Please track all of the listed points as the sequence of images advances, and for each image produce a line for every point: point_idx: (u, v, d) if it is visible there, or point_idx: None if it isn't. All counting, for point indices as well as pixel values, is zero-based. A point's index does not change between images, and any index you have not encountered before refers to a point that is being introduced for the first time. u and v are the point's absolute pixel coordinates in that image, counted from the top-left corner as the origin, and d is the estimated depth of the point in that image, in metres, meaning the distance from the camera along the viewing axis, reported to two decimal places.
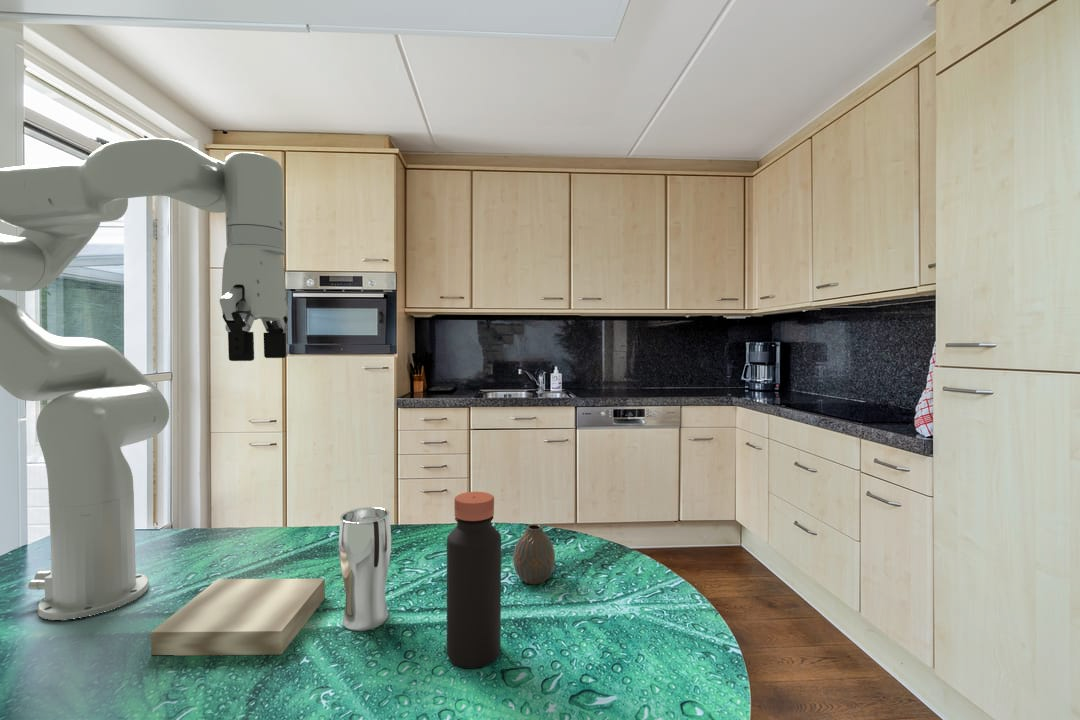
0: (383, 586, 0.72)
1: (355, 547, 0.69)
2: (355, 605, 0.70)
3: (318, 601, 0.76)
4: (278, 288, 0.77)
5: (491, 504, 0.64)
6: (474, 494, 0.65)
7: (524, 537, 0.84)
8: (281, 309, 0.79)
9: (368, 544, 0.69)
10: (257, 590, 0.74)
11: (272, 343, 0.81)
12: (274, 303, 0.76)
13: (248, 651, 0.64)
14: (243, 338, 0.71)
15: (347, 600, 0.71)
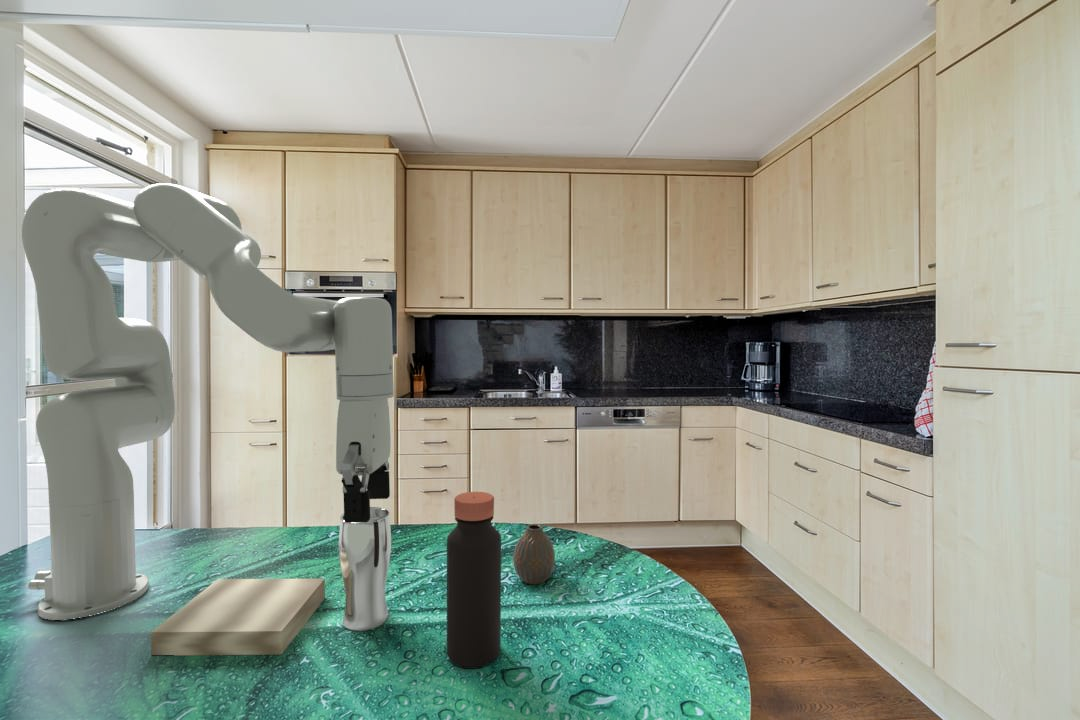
0: (383, 586, 0.72)
1: (355, 547, 0.69)
2: (355, 605, 0.70)
3: (318, 601, 0.76)
4: (386, 432, 0.73)
5: (491, 504, 0.64)
6: (474, 494, 0.66)
7: (524, 537, 0.84)
8: (387, 451, 0.74)
9: (368, 544, 0.69)
10: (257, 590, 0.74)
11: (376, 484, 0.76)
12: (384, 449, 0.72)
13: (248, 651, 0.64)
14: (360, 500, 0.66)
15: (347, 600, 0.71)
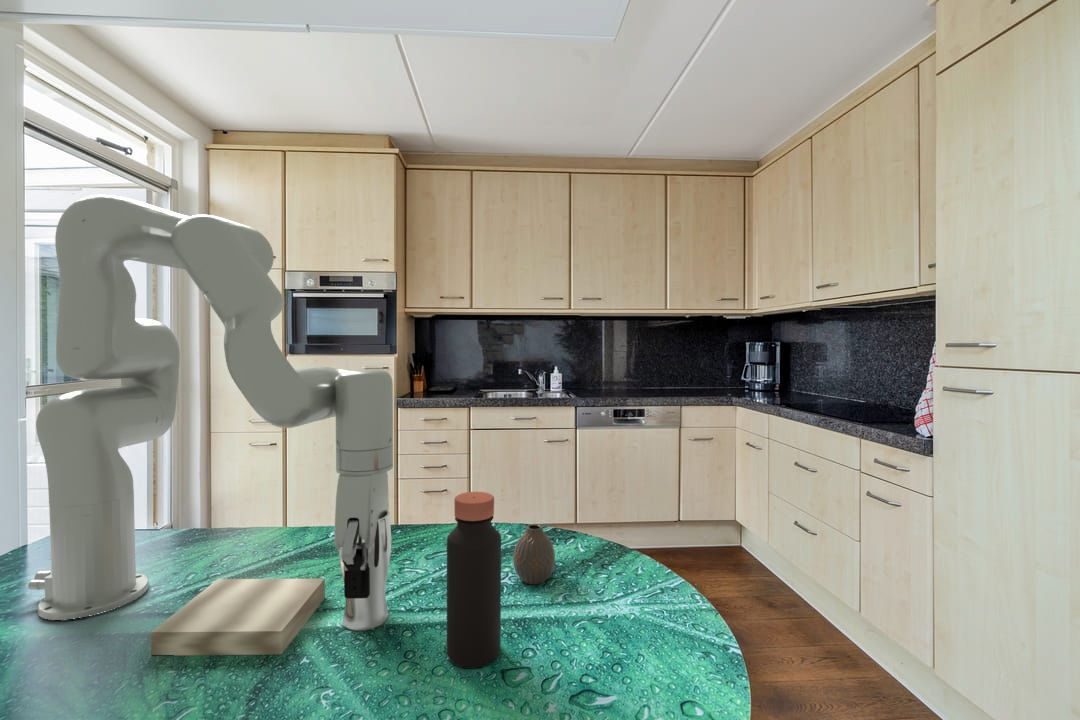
0: (383, 586, 0.72)
1: None
2: (355, 605, 0.70)
3: (318, 601, 0.76)
4: (385, 501, 0.73)
5: (491, 504, 0.64)
6: (474, 494, 0.65)
7: (524, 537, 0.84)
8: None
9: None
10: (257, 590, 0.74)
11: None
12: None
13: (248, 651, 0.64)
14: (360, 577, 0.68)
15: (347, 600, 0.71)
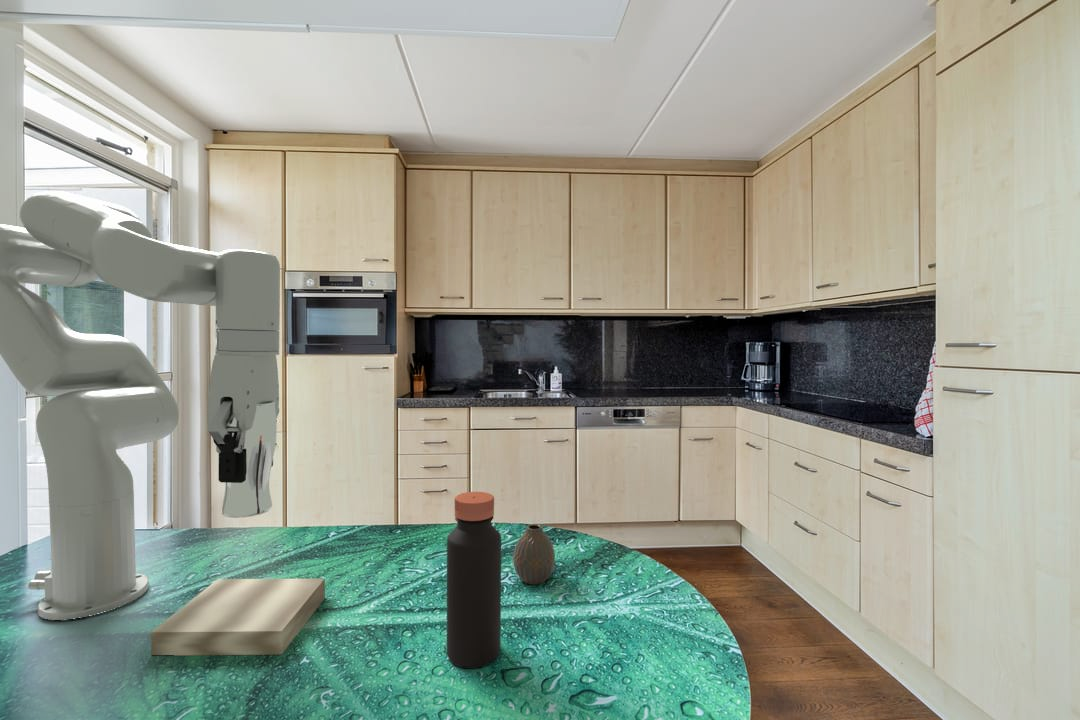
0: (265, 475, 0.70)
1: None
2: (232, 491, 0.68)
3: (318, 601, 0.76)
4: (270, 391, 0.71)
5: (491, 504, 0.64)
6: (474, 494, 0.66)
7: (524, 537, 0.84)
8: None
9: None
10: (257, 590, 0.74)
11: None
12: None
13: (248, 651, 0.64)
14: (235, 460, 0.66)
15: (225, 487, 0.69)
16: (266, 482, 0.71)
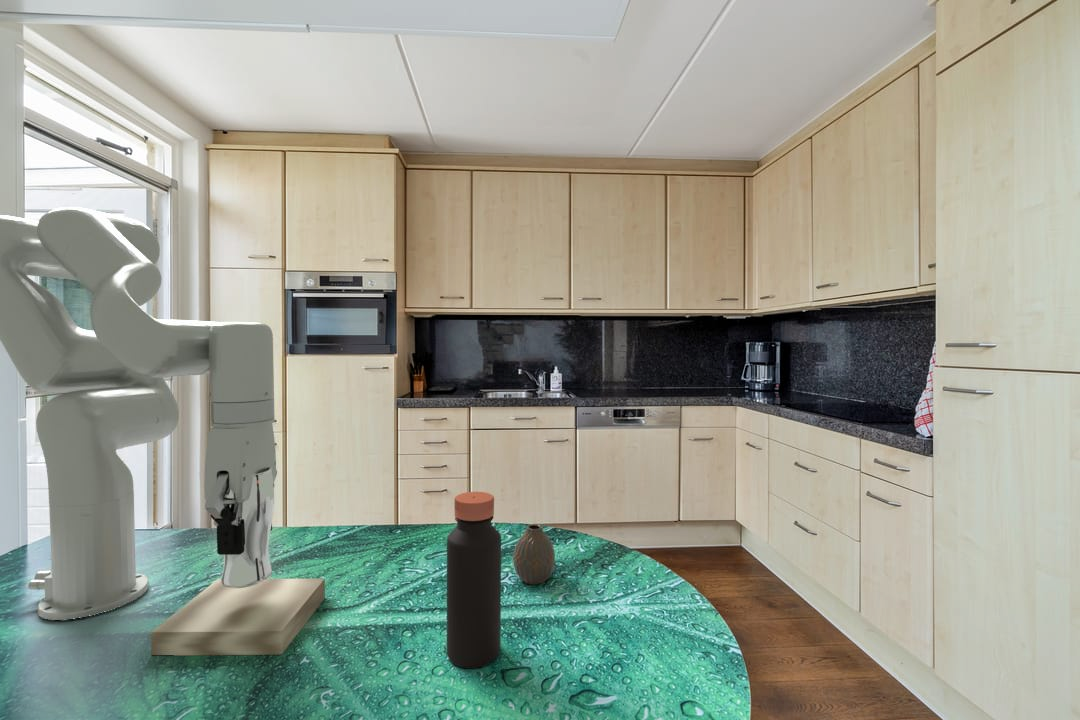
0: (263, 543, 0.70)
1: None
2: (231, 562, 0.68)
3: (318, 601, 0.76)
4: (267, 458, 0.72)
5: (491, 504, 0.64)
6: (474, 494, 0.66)
7: (524, 537, 0.84)
8: None
9: None
10: (257, 590, 0.74)
11: None
12: None
13: (248, 651, 0.64)
14: (232, 532, 0.66)
15: (224, 557, 0.69)
16: (265, 550, 0.71)
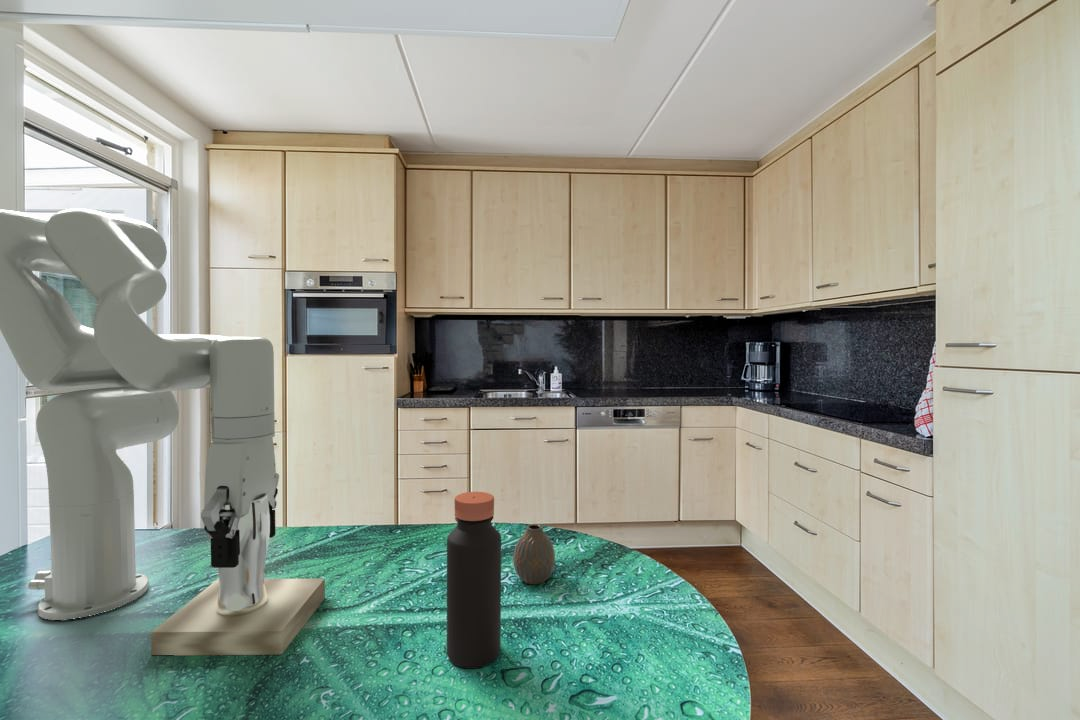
0: (259, 570, 0.70)
1: None
2: (226, 589, 0.68)
3: (318, 601, 0.76)
4: (267, 472, 0.72)
5: (491, 504, 0.64)
6: (474, 494, 0.65)
7: (524, 537, 0.84)
8: (270, 491, 0.73)
9: (238, 526, 0.67)
10: None
11: None
12: (262, 491, 0.71)
13: (248, 651, 0.64)
14: (227, 545, 0.65)
15: (220, 584, 0.69)
16: (260, 576, 0.70)
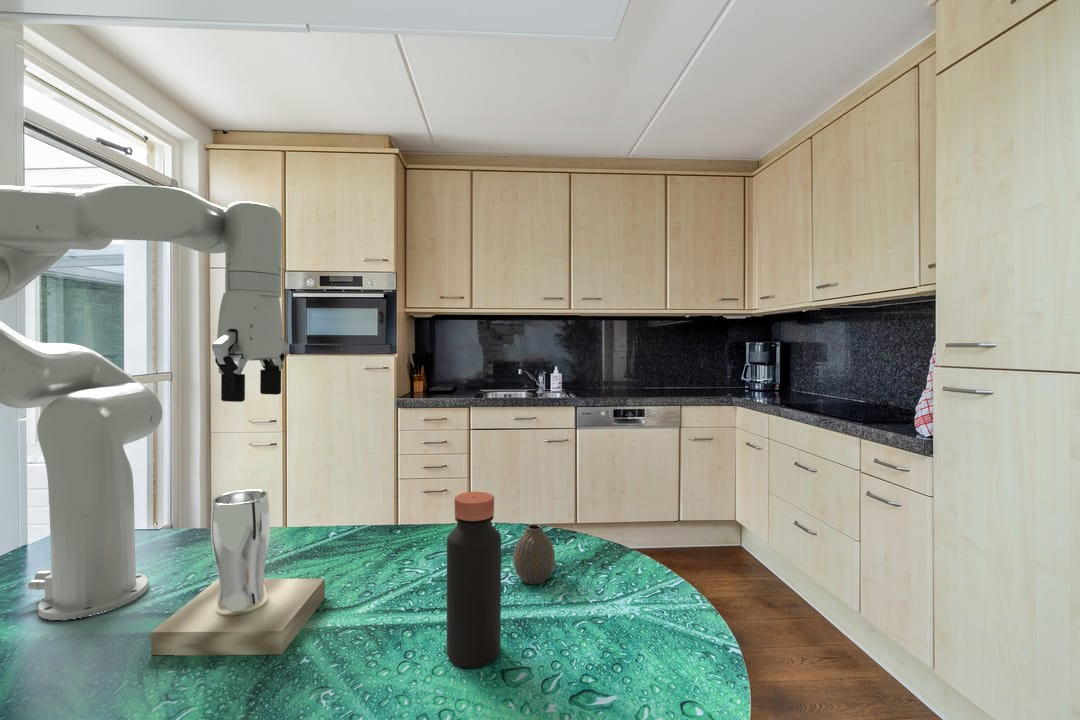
0: (259, 570, 0.70)
1: (224, 530, 0.67)
2: (226, 589, 0.68)
3: (318, 601, 0.76)
4: (273, 329, 0.80)
5: (491, 504, 0.64)
6: (474, 494, 0.65)
7: (524, 537, 0.84)
8: (276, 349, 0.82)
9: (238, 526, 0.67)
10: None
11: (268, 380, 0.84)
12: (268, 344, 0.79)
13: (248, 651, 0.64)
14: (234, 380, 0.74)
15: (220, 584, 0.69)
16: (260, 576, 0.70)
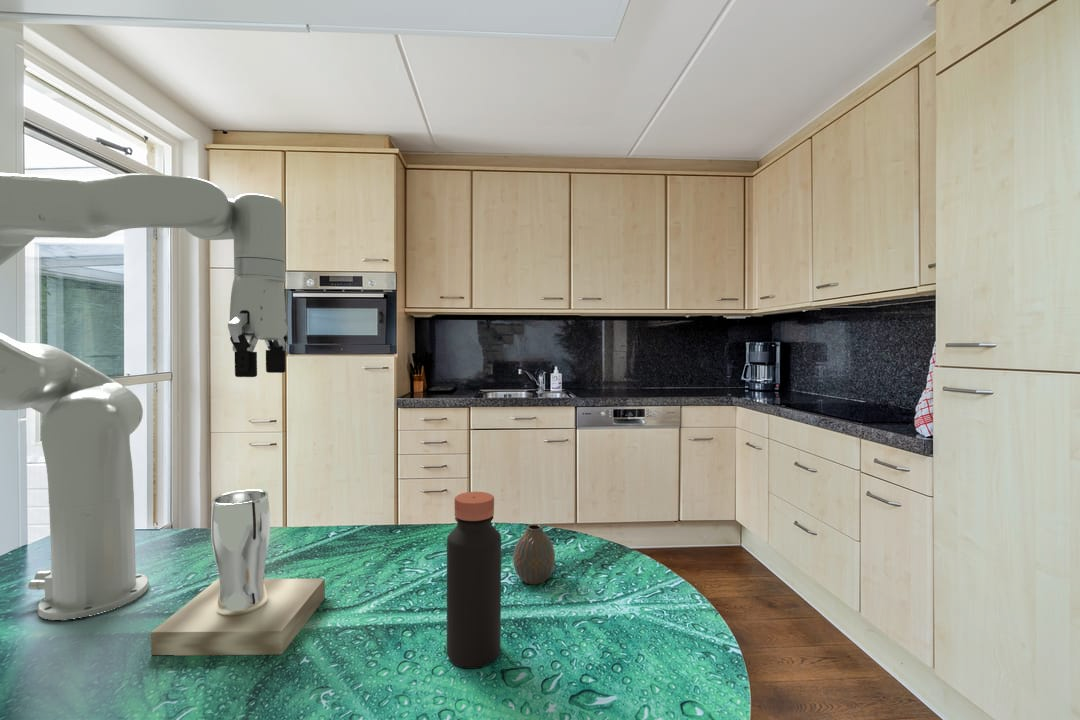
0: (259, 570, 0.70)
1: (224, 529, 0.67)
2: (226, 589, 0.68)
3: (318, 601, 0.76)
4: (279, 312, 0.87)
5: (491, 504, 0.64)
6: (474, 494, 0.66)
7: (524, 537, 0.84)
8: (281, 330, 0.89)
9: (238, 526, 0.67)
10: None
11: (273, 359, 0.91)
12: (275, 325, 0.86)
13: (248, 651, 0.64)
14: (248, 357, 0.81)
15: (220, 584, 0.69)
16: (261, 576, 0.70)
